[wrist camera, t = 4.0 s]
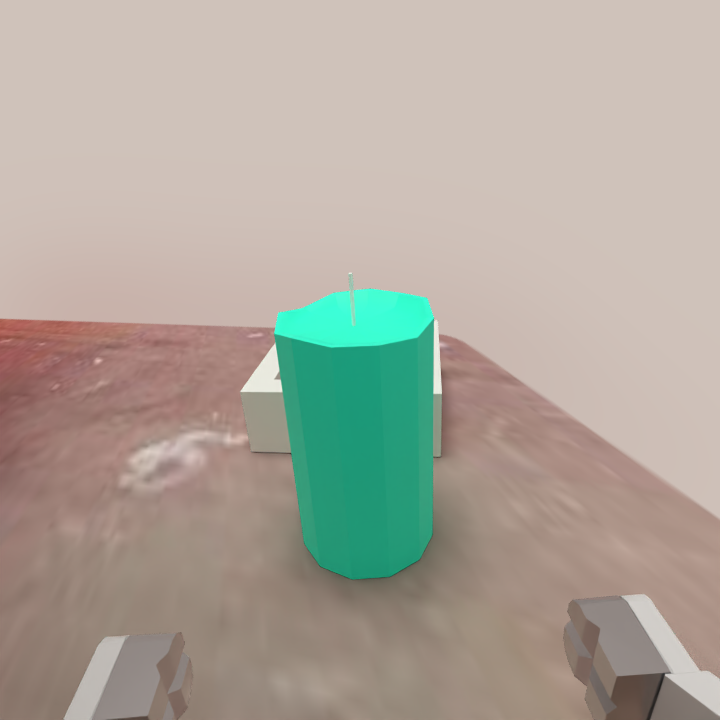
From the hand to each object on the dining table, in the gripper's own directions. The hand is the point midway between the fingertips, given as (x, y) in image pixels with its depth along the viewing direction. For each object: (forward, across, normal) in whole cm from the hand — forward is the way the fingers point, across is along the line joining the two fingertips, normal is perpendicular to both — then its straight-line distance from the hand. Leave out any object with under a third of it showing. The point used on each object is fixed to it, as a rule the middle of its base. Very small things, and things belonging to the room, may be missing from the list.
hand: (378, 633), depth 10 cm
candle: (+10, 0, +7) cm, 13 cm away
